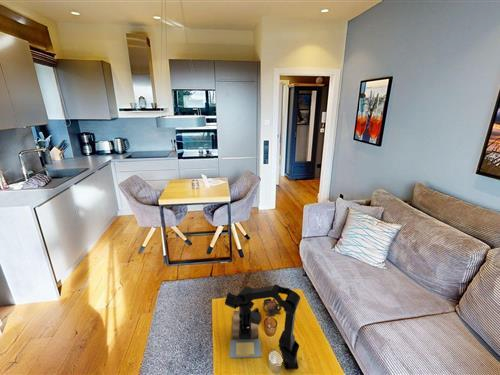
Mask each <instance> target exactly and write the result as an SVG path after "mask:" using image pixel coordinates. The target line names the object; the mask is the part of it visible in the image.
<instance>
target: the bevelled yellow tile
mask: <svg viewBox="0 0 500 375" xmlns="http://www.w3.org/2000/svg"><path fill="white" fill-rule="evenodd" d="M247 356H254V342H248V343H236V357H247Z"/></svg>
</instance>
